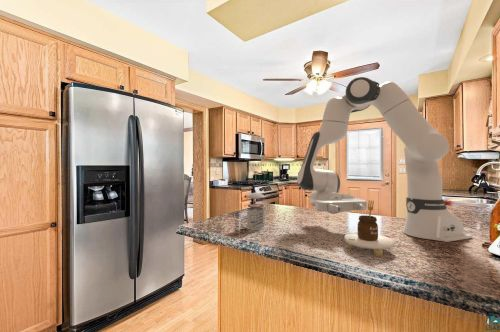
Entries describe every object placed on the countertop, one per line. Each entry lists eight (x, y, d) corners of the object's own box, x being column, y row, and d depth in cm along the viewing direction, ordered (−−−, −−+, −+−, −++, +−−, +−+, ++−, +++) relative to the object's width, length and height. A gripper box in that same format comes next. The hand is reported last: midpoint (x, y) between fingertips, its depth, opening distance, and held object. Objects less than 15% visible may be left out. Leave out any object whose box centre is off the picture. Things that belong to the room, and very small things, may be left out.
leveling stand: (373, 241, 86) (373, 231, 86) (404, 256, 72) (404, 243, 72) (336, 243, 84) (336, 233, 84) (360, 259, 70) (360, 246, 70)
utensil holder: (354, 238, 78) (354, 201, 78) (362, 234, 82) (362, 199, 83) (373, 242, 74) (373, 203, 74) (381, 238, 78) (380, 201, 78)
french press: (241, 226, 109) (241, 170, 109) (263, 223, 114) (263, 170, 114) (250, 231, 101) (250, 171, 101) (274, 228, 105) (274, 170, 105)
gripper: (308, 195, 100) (323, 200, 86) (354, 194, 103) (376, 199, 89) (308, 210, 100) (323, 218, 86) (354, 209, 103) (376, 216, 89)
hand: (350, 208), depth 88 cm, fingers open, 8 cm apart
